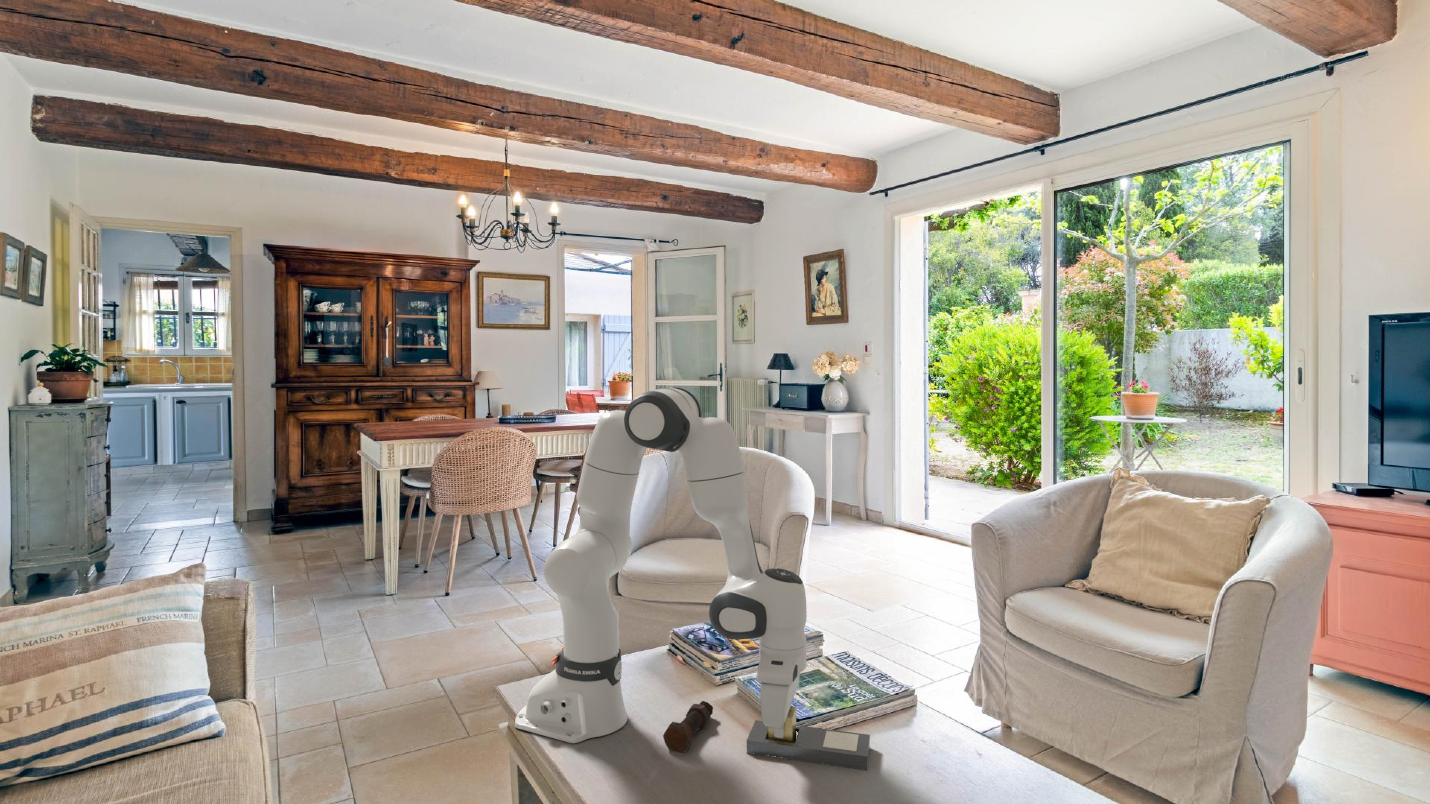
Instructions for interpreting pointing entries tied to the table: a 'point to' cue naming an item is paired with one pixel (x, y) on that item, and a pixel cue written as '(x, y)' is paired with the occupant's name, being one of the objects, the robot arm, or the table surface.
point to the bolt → (687, 727)
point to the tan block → (786, 728)
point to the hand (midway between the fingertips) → (782, 728)
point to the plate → (814, 746)
